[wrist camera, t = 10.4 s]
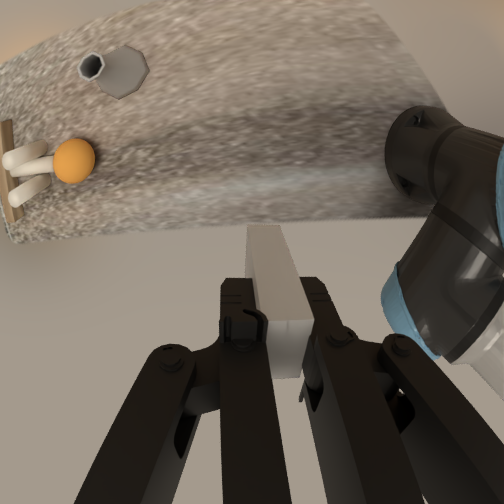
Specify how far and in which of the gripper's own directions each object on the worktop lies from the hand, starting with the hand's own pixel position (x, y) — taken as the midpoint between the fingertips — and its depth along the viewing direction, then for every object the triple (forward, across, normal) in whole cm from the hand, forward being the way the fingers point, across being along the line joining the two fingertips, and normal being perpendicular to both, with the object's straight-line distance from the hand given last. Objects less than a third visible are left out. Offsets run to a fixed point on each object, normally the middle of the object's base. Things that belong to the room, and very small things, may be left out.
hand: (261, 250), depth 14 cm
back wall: (+26, +36, 0) cm, 45 cm away
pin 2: (+26, +30, +2) cm, 40 cm away
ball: (+23, +22, 0) cm, 32 cm away
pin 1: (+26, +30, -2) cm, 40 cm away
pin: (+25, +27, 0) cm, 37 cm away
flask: (+27, +16, -12) cm, 33 cm away
